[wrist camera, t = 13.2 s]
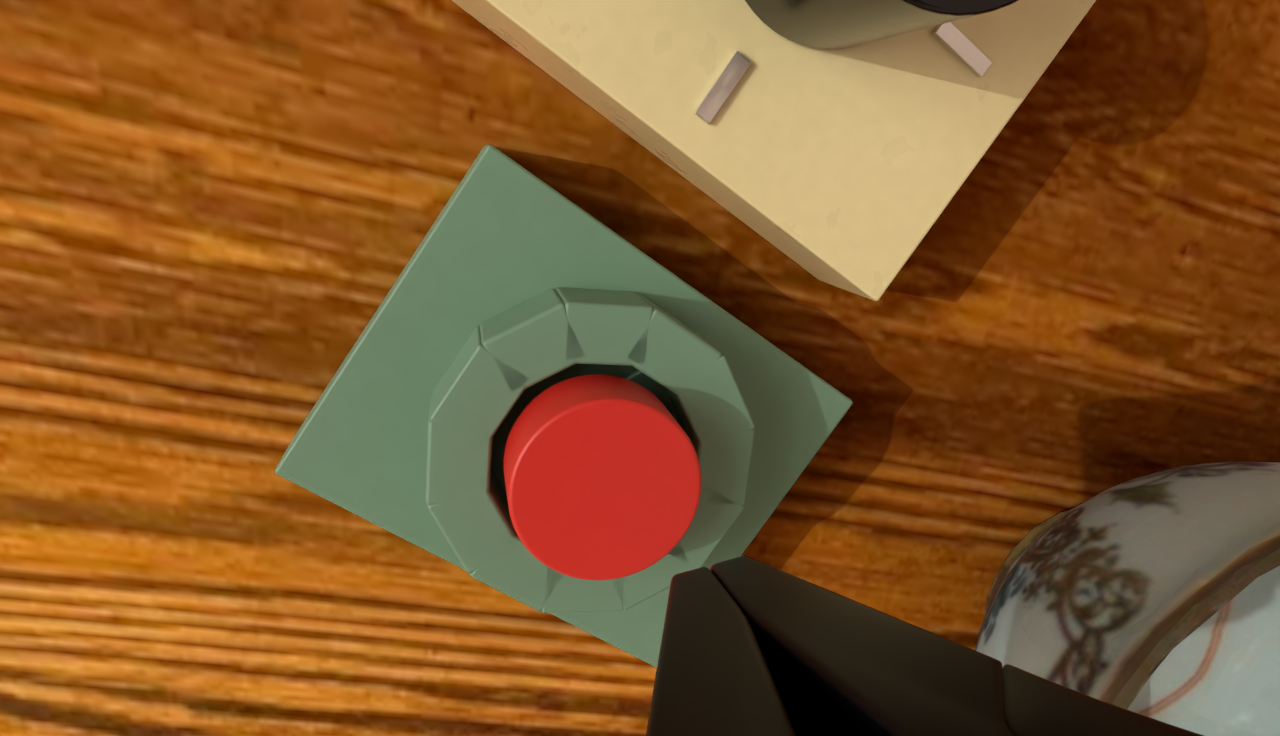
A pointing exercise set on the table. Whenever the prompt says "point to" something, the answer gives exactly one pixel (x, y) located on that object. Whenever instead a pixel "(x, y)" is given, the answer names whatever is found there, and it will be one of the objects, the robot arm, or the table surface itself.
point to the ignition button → (600, 478)
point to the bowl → (1155, 599)
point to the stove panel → (799, 112)
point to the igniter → (529, 364)
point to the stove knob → (861, 18)
